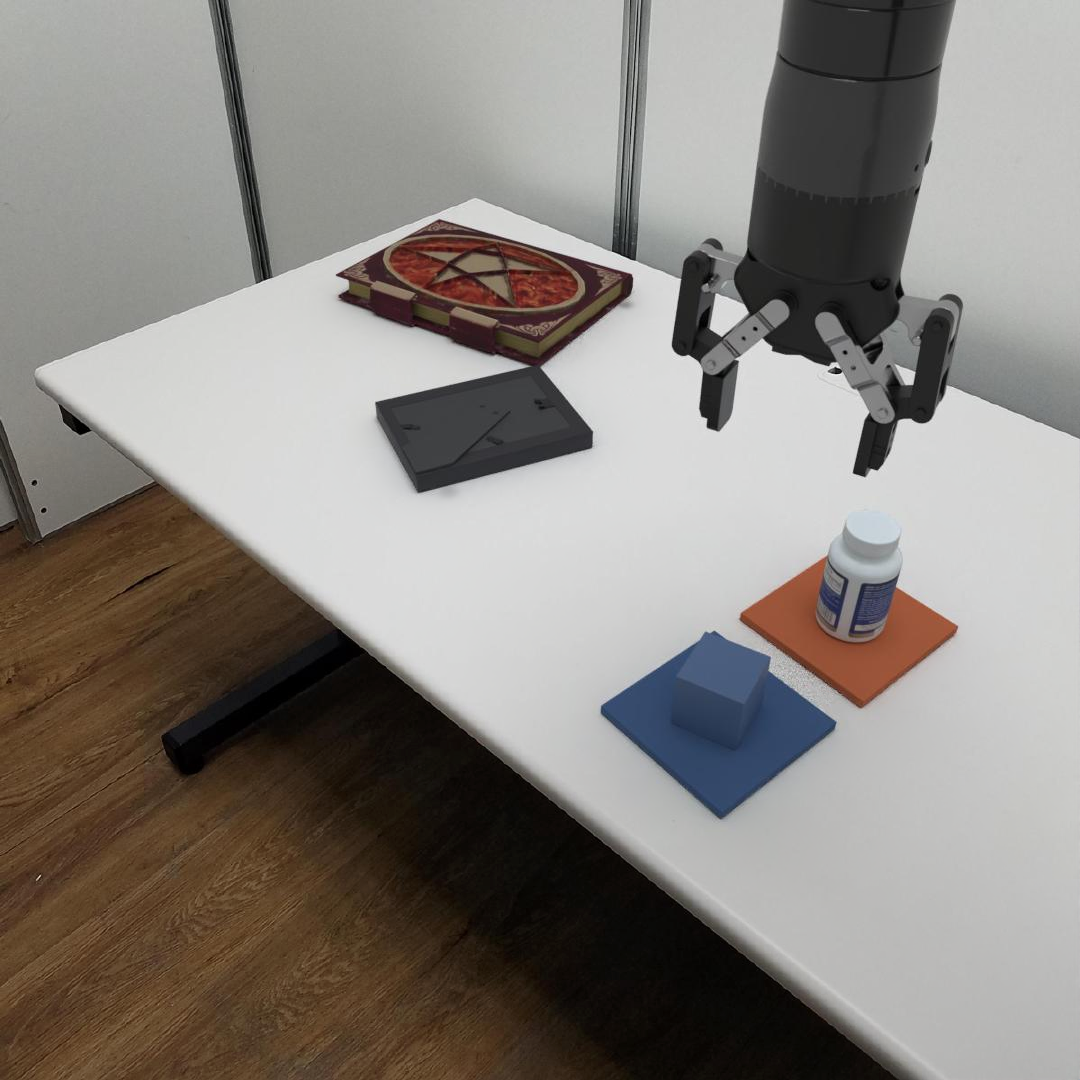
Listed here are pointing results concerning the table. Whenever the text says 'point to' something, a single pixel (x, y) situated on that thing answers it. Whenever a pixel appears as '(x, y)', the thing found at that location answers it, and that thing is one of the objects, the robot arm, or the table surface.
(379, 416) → the picture frame
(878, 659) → the terracotta mat
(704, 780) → the blue mat
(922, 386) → the robot arm
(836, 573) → the pill bottle
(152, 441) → the table surface
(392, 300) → the book
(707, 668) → the blue block
